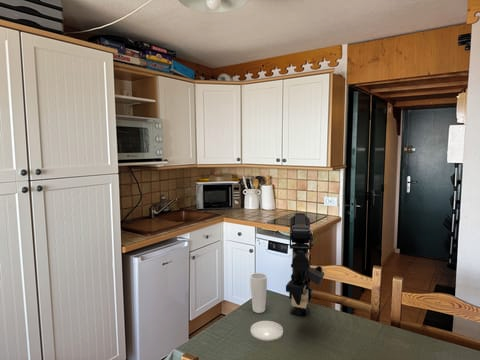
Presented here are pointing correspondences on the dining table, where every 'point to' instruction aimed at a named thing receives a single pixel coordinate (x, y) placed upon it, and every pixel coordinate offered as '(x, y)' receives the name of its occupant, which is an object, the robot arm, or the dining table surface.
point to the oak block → (303, 300)
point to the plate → (266, 330)
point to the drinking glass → (258, 292)
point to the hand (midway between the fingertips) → (299, 301)
